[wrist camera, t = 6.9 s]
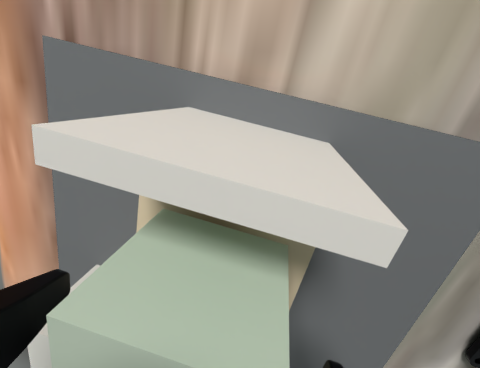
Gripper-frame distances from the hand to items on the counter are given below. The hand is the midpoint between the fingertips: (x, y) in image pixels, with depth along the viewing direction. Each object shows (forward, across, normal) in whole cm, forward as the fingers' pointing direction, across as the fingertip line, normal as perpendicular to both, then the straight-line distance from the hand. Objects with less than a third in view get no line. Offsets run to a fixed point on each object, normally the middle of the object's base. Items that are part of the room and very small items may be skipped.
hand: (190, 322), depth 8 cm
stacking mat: (+7, 0, +2) cm, 8 cm away
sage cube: (+2, 0, 0) cm, 2 cm away
